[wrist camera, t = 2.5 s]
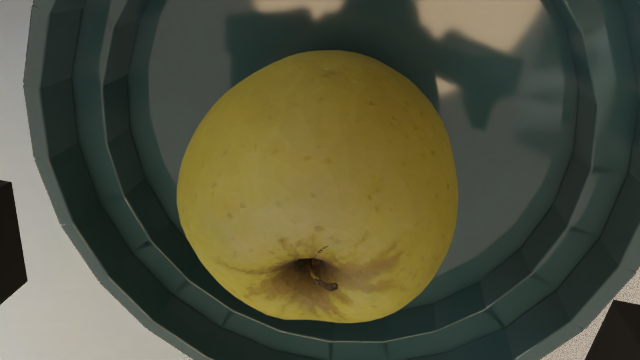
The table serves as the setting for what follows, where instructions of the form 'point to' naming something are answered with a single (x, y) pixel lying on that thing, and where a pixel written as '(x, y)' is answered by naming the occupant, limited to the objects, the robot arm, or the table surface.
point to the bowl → (449, 102)
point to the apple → (321, 189)
